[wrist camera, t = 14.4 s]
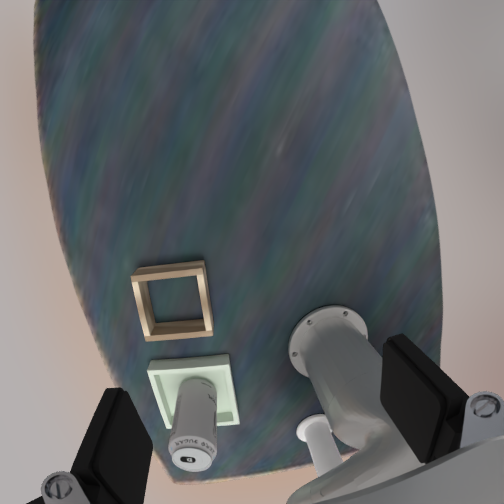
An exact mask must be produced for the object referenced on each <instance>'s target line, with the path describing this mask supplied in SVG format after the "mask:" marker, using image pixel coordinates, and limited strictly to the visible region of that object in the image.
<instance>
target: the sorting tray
mask: <svg viewBox="0 0 504 504" xmlns="http://www.w3.org/2000/svg"><path fill="white" fill-rule="evenodd" d="M147 372H148V375H149V378H150V381H151V385H152V388H153V391H154V394H155V397H156V400H157V403H158V406H159V409H160V411H161V414H162V417H163V420H164V423H165V425H166V428H167V429H172V423H173V417H174V411H175V406H176V400H177V395H178V390H179V387H180V386H181V384H182V383H183V382H185V381H187V380H190V379H193V378H200V379H204V380H206V381H208V382H209V383H210V384H212V385H213V386H214V388H215V389H216V392H217V426H224V425H234V424H240V423H239V411H238V406H237V400H236V394H235V389H234V383H233V377H232V371H231V365H230V359H229V354H221V355H212V356H201V357H190V358H177V359H162V360H151V362H150V364H149V367H148V370H147Z"/></svg>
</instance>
